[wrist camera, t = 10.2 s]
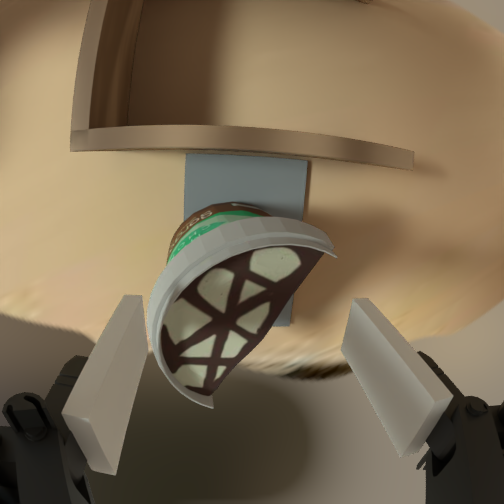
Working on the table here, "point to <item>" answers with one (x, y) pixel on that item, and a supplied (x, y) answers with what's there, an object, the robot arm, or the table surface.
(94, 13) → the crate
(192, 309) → the food container
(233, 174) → the pad
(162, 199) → the table surface
